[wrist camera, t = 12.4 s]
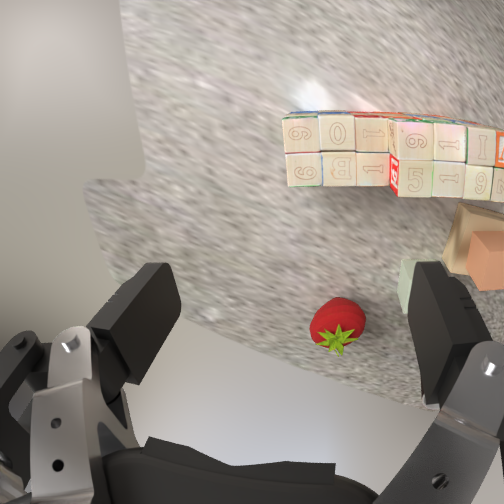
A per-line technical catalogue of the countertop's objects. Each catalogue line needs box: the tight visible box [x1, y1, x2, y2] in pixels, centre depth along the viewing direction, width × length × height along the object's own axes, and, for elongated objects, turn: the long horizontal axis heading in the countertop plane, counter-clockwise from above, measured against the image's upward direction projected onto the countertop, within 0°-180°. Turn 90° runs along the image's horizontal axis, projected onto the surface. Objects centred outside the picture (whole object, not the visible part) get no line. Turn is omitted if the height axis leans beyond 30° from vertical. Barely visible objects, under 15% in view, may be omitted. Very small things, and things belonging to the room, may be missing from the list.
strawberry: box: [310, 297, 366, 357], centre depth 38 cm, size 6×8×10 cm
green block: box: [397, 260, 436, 314], centre depth 36 cm, size 5×5×5 cm
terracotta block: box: [466, 231, 504, 291], centre depth 28 cm, size 5×5×5 cm
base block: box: [442, 202, 504, 276], centre depth 32 cm, size 8×8×4 cm
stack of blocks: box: [282, 110, 504, 203], centre depth 26 cm, size 21×6×12 cm, turn 96°
